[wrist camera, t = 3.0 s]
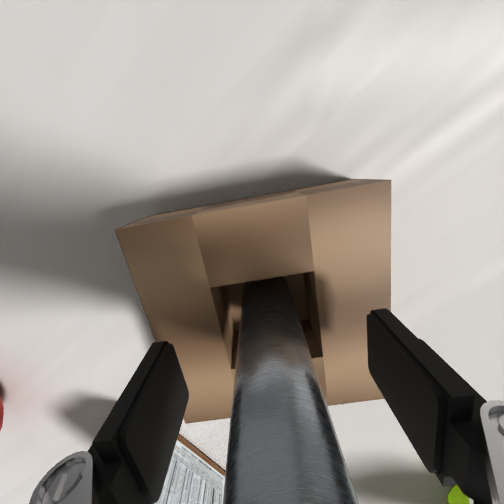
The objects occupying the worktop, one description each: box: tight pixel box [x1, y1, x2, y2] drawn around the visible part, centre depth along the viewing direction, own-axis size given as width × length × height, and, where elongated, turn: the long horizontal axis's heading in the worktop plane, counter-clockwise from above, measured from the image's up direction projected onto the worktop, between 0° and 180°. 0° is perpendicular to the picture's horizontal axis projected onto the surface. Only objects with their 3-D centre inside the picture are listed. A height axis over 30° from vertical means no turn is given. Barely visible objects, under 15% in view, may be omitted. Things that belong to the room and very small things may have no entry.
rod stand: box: [115, 179, 391, 423], centre depth 14 cm, size 12×12×4 cm
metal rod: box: [223, 276, 358, 504], centre depth 8 cm, size 3×3×14 cm
